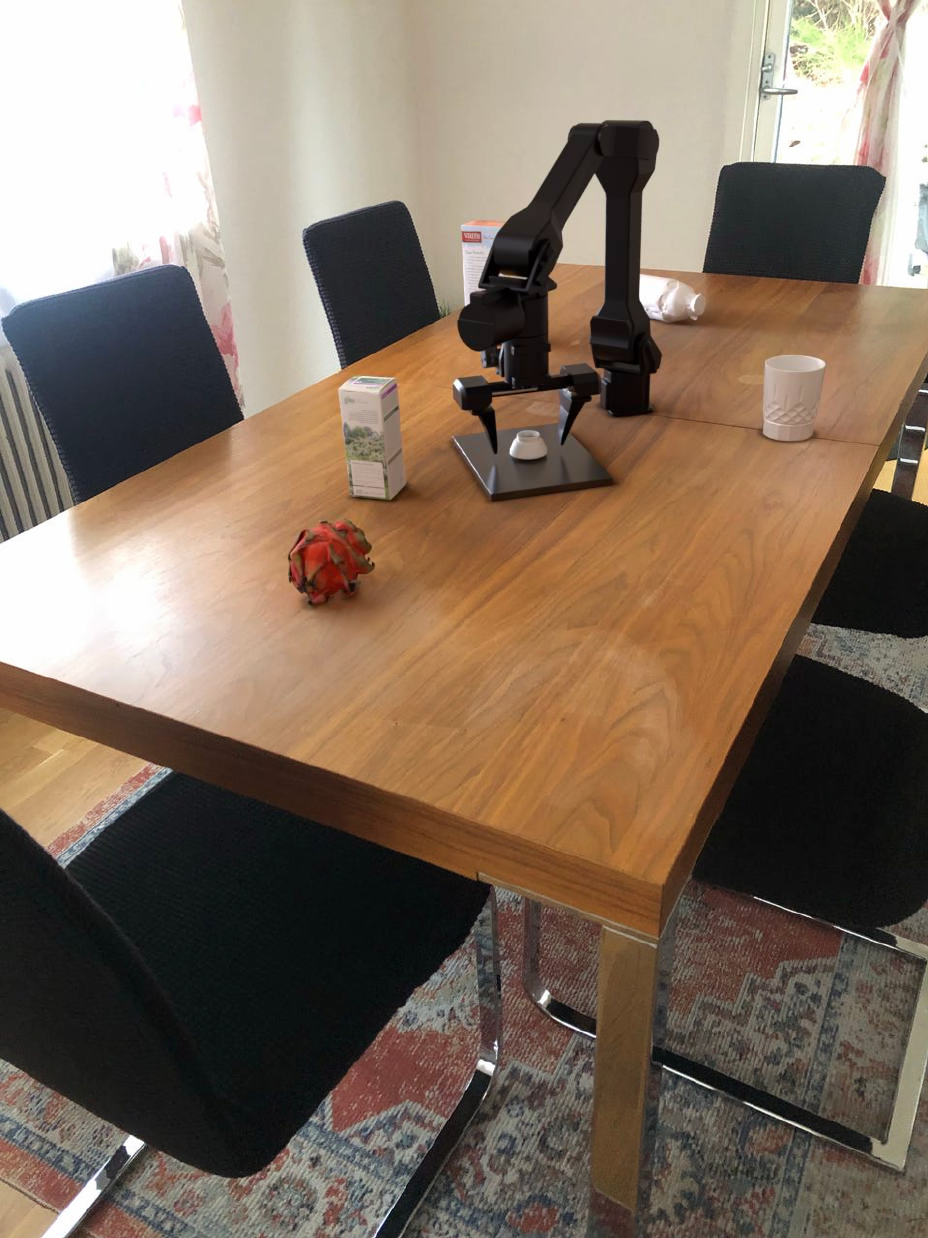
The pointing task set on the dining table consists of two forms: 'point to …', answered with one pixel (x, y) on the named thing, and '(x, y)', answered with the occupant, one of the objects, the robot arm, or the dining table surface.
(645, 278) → the white bottle
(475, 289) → the cracker box
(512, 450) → the lidless jar
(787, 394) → the white cup
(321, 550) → the dragon fruit
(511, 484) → the serving board
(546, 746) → the dining table surface
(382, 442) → the syrup box
